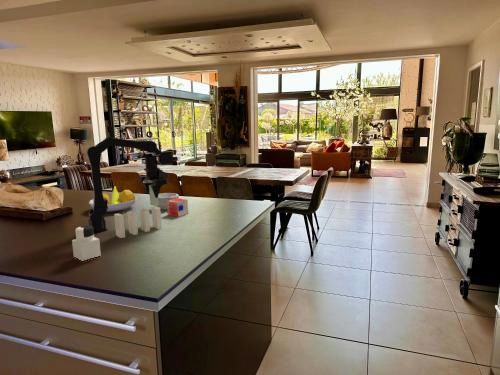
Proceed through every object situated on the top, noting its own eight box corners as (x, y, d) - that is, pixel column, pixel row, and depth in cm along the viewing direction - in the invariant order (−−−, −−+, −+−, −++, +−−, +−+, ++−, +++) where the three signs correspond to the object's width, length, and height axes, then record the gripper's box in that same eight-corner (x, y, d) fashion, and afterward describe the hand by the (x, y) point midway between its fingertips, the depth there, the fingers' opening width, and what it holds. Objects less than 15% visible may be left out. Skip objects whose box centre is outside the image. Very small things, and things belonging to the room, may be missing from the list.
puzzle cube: (177, 211, 194) (176, 198, 193) (188, 213, 190) (187, 199, 189) (167, 215, 188) (166, 201, 186) (178, 216, 184) (177, 202, 182)
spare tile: (155, 206, 169) (153, 186, 168) (150, 204, 173) (148, 185, 171) (158, 205, 171) (157, 185, 169) (153, 203, 174) (152, 184, 172)
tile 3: (146, 232, 158) (144, 211, 156) (141, 229, 162) (139, 209, 160) (150, 231, 160) (148, 210, 158) (145, 228, 163) (143, 208, 161)
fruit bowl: (128, 214, 190) (127, 194, 188) (80, 215, 191) (78, 195, 189) (145, 203, 218) (143, 185, 216) (103, 203, 218) (101, 186, 216)
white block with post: (92, 252, 134) (89, 223, 132) (101, 256, 129) (98, 226, 127) (73, 258, 129) (70, 227, 126) (82, 262, 124) (78, 231, 122)
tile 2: (133, 235, 154) (131, 213, 152) (129, 232, 158) (127, 211, 156) (137, 234, 156) (136, 212, 154) (133, 231, 159) (131, 210, 157)
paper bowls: (182, 205, 210) (181, 192, 209) (174, 211, 196) (173, 197, 194) (158, 204, 212) (157, 192, 210) (149, 211, 197) (148, 197, 196)
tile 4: (157, 229, 162) (156, 208, 161) (152, 227, 166) (151, 207, 164) (161, 228, 164) (160, 207, 162) (156, 226, 167) (155, 206, 165)
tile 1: (120, 238, 150) (118, 216, 148) (116, 235, 154) (114, 214, 152) (125, 237, 152) (123, 215, 150) (120, 234, 155) (118, 213, 153)
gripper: (175, 165, 167) (178, 196, 170) (156, 163, 180) (158, 192, 183) (155, 168, 159) (157, 200, 162) (136, 165, 173) (139, 195, 176)
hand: (153, 197), depth 171 cm, fingers closed on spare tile, 5 cm apart
